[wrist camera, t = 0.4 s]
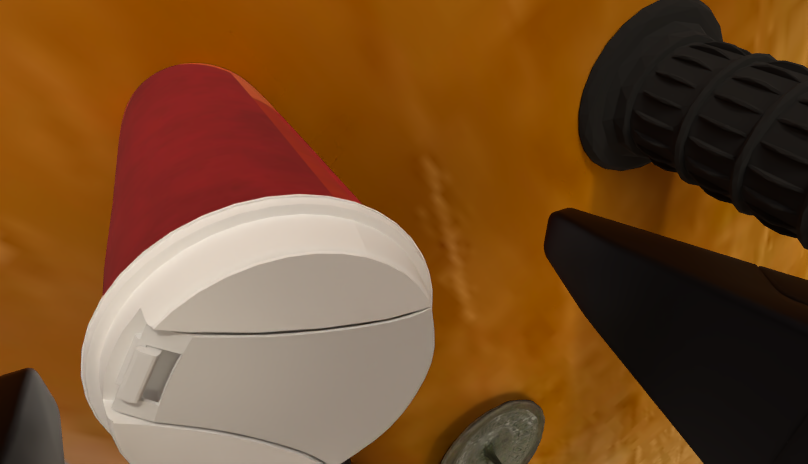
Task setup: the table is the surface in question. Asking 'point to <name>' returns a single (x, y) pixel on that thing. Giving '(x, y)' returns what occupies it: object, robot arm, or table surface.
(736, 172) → the handle grip
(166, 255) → the paper cup
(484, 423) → the lid
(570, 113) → the table surface
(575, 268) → the robot arm
